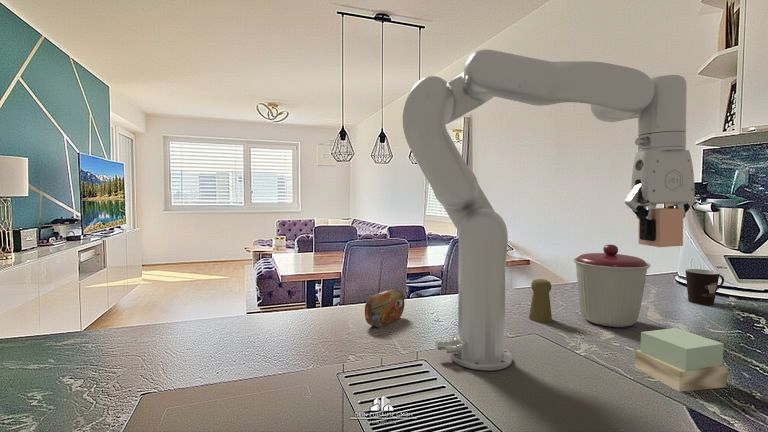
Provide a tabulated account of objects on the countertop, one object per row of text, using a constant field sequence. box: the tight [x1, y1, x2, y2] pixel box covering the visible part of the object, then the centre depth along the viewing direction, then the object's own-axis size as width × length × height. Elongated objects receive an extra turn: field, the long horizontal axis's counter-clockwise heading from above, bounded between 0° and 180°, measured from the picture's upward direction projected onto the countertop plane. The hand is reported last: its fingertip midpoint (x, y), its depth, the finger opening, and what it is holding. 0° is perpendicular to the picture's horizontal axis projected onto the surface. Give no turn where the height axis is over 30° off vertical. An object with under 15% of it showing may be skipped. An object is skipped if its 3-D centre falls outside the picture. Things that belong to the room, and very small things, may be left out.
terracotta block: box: [638, 207, 684, 248], centre depth 78 cm, size 5×5×7 cm
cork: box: [528, 278, 553, 324], centre depth 113 cm, size 6×6×11 cm
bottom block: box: [634, 349, 728, 392], centre depth 78 cm, size 10×10×4 cm
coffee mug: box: [685, 268, 725, 306], centre depth 129 cm, size 12×9×10 cm
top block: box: [639, 327, 725, 371], centre depth 77 cm, size 9×9×4 cm
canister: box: [572, 243, 651, 328], centre depth 110 cm, size 18×18×21 cm
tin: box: [364, 289, 405, 328], centre depth 110 cm, size 15×3×8 cm, turn 143°
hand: (660, 238), depth 78 cm, fingers closed on terracotta block, 5 cm apart
